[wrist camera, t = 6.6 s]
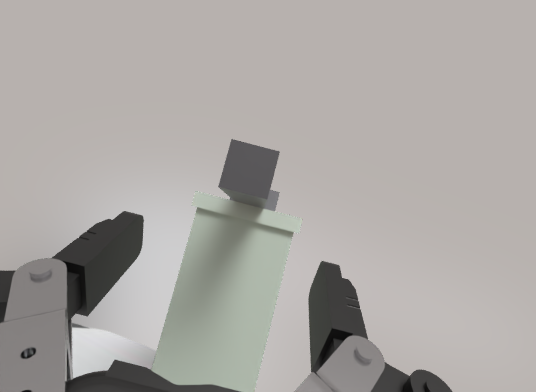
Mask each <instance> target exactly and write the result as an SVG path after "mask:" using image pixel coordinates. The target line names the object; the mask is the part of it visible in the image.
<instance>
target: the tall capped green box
mask: <svg viewBox="0 0 536 392" xmlns="http://www.w3.org/2000/svg"><path fill="white" fill-rule="evenodd" d="M192 206H195V207H197V210H196V214H195V218H194V221H193V225H192V228H191V232H190V236H189V239H188V242H187V246H186V249H185V253H184V256H183V260H182V263H181V267H180V271H179V274H178V278H177V281H176V285H175V288H174V292H173V295H172V299H171V303H170V306H169V309H168V313H167V316H166V320H165V324H164V327H163V331H162V334H161V338H160V341H159V345H158V348H157V352H156V355H155V359H154V362H153V366H152V370H151V371H153V372H155V373H156V374H158V375H160V376H161V377H163V378H165V379H166V380H168V381H170V382H171V383H173V384H176V385H203V384H213V385H217V386H221V387H225V388H229V389H233V390H237V391H241V392H254V391H255V386H256V382H257V378H258V374H259V370H260V366H261V362H262V358H263V354H264V350H265V345H266V342H267V338H268V334H269V330H270V326H271V321H272V317H273V314H274V309H275V305H276V301H277V297H278V293H279V289H280V285H281V281H282V277H283V272H284V269H285V265H286V261H287V257H288V253H289V248H290V245H291V241H292V237H293V233H294V232H295V233H299V232H300V228H301V224H302V220H303V219H302V218H298V217H294V216H290V215H286V214H282V213H278V212H275V211H271V210H267V209H263V208H259V207H255V206H252V205H248V204H244V203H240V202H236V201H232V200H228V199H224V198H221V197H217V196H213V195H209V194H205V193H201V192H198V191H196V192H195V195H194V198H193V202H192Z"/></svg>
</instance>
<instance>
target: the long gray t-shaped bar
mask: <svg viewBox="0 0 536 392" xmlns="http://www.w3.org/2000/svg"><path fill="white" fill-rule="evenodd" d="M278 156H279V151H275V150H271V149H267V148H264V147H260V146H256V145H252V144H248V143H244V142H241V141H237V140H233V139H232V140H231V143H230V147H229V151H228V154H227V158H226V161H225V165H224V168H223V172H222V176H221V179H220V183H219V186H218V187H219V188H220V189H221V190H223V191H224V192H225V193H226V194H227V195H228V196H229V197H230V200H232V201H236V202H240V203H244V204H248V205H252V206H255V207H259V208H263V209H267V210H271V211H275V208H276V205H277V201H278V197H279V192H276V191H273V190H270V187H271V183H272V180H273V176H274V171H275V168H276V164H277V160H278Z"/></svg>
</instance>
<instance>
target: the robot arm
mask: <svg viewBox="0 0 536 392" xmlns="http://www.w3.org/2000/svg"><path fill="white" fill-rule="evenodd" d="M143 222H144V220H143V216H142V215H138V214H134V213H130V212H126V211H124V212H122V213H121V214H119V215H118V216H117V217H116V218H115V219H113V220H111V219H107V220H105V221H102V222H99V223H97V224H95V225H94V226H93V227H91V228H90V229H89V230H87V232H85V233H83V234H82V235H81V236H80V237H79V238H77V239H76V240H74V241H73V242H72V243H70V244H69V245H68V246H67V247H65V248H64V249H63V250H61V251H60V252H59V253H57V254H56V255H55V256H54V257H52V258H49V259H48V258H46V259H38V260H35V261H31V262H29V263H26V264H25V265H23V266H21V267H20V268H18V269H17V270H16V271H0V392H241V391H237V390H233V389H229V388H225V387H221V386H217V385H213V384H203V385H176V384H173V383H171V382H170V381H168V380H166V379H165V378H163V377H161V376H160V375H158V374H156V373H155V372H153V371H151V370H150V369H148V368H146V367H142V366H138V365H134V364H130V363H126V362H122V361H118V360H114V362H113V363H112V365H111V367H110V368H109V370H108V371H98V372H92V373H88V374H84V375H82V376H79V377H76V378H74V379H73V368H72V322H71V318H72V317H73V316H74V315H75V313H76V314H80V315H84V316H88V315H89V314H90V313H91V312H92V310H93V309H94V308H95V307H96V306H97V304H98V303H99V302H100V301H101V300H102V299H103V297H104V296H105V295H106V294H107V293H108V292H109V290H110V289H111V288H112V287H113V286H114V285H115V283H116V282H117V281H118V280H119V279H120V277H121V276H122V275H123V274H124V272H126V270H127V269H128V268H129V267H130V266H131V265H132V263H133V262H134V261H135V260H136V259H137V257H138V255H139V254H140V251H141V248H142V241H143ZM309 325H310V326H309V327H310V353H311V372H312V373H311V374H310V375H309V376H308V377H307V378H306V379H305V380H304V381H303V382H302V384H301V385H300V386H299V387H298V388H297V389H296V390H295V392H452V391H451V389H450V388H449V387H448V386H447V384H446V383H445V382H444V381H442V380H441V379H440V378H439V377H437V376H436V375H434V374H433V373H431V372H428V371H426V370H416V371H414V372H413V373H412V374H411V375H410V376H408V375H406V374H405V373H403V372H401V371H399V370H397V369H396V368H394V367H392V366H390V365H389V364H387V363H385V362H384V358H383V355H382V354H381V352H380V350H379V349H378V348H377V347H376V346H375V345H374V344H373V343H372V342H371V341H369V340H368V337H367V334H366V329H365V325H364V321H363V317H362V313H361V310H360V306H359V302H358V297H357V294H356V289H355V288H354V287H353V285H352V284H351V282H350V281H349V280H348V279H344V278H342V276H341V271H340V266H339V265H336V264H332V263H328V262H324V261H322V262H321V263H320V265H319V268H318V270H317V273H316V276H315V278H314V281H313V283H312V286H311V289H310V293H309Z"/></svg>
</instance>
